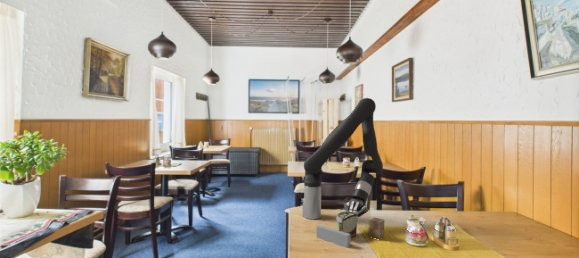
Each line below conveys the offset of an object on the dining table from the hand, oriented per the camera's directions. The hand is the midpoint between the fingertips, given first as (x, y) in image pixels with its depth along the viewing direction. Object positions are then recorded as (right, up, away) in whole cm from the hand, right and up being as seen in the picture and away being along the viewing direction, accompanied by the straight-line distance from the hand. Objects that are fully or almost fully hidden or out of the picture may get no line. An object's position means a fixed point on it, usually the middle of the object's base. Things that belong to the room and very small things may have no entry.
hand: (349, 223), depth 139 cm
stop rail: (-9, -5, -9) cm, 14 cm away
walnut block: (+12, -5, -5) cm, 13 cm away
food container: (-3, -5, -3) cm, 6 cm away
